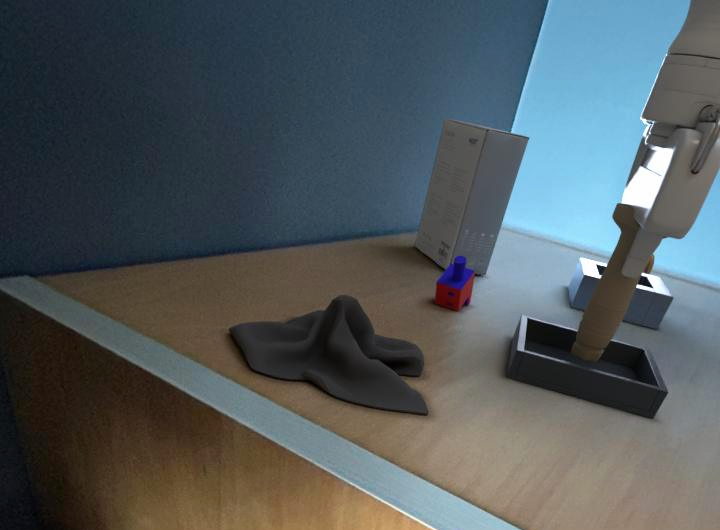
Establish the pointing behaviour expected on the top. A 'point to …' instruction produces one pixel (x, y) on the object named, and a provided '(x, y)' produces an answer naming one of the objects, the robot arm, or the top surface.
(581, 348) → the handle
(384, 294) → the top surface
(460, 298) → the toy building block
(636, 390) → the basin
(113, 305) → the top surface
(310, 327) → the cloth
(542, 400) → the top surface
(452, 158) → the hard drive box
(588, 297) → the block
